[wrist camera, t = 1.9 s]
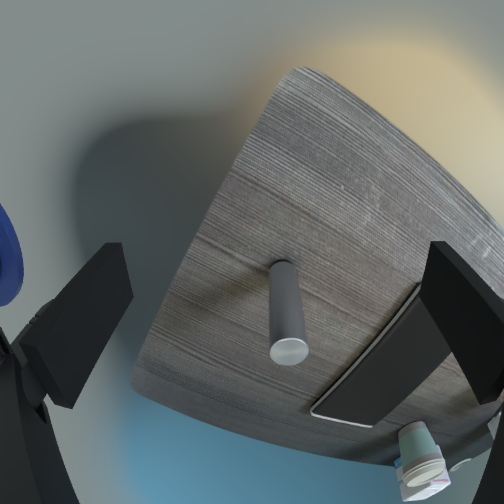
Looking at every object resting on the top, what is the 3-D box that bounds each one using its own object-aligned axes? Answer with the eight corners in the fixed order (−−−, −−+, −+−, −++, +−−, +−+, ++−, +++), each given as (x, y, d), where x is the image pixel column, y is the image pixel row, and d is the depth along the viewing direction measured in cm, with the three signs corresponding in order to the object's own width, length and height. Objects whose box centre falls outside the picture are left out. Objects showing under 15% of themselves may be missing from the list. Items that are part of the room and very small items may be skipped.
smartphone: (477, 310, 37) (483, 317, 36) (369, 421, 48) (371, 429, 47) (421, 277, 35) (426, 284, 34) (307, 408, 46) (308, 416, 45)
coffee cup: (385, 443, 52) (397, 491, 42) (400, 420, 49) (415, 473, 38) (421, 436, 52) (435, 482, 42) (437, 414, 48) (455, 462, 38)
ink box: (392, 461, 57) (401, 502, 46) (419, 442, 53) (431, 485, 43) (414, 462, 58) (423, 500, 48) (439, 445, 55) (452, 484, 45)
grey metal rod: (266, 279, 36) (266, 364, 24) (270, 255, 35) (272, 336, 23) (293, 282, 36) (304, 367, 24) (298, 258, 35) (312, 339, 23)
